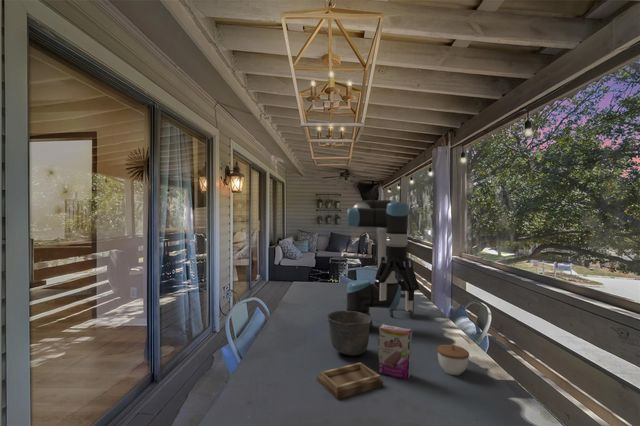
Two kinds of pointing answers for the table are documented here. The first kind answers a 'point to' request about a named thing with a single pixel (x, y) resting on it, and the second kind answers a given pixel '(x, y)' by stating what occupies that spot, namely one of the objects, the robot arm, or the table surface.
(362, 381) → the wooden tray
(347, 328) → the dark grey pot
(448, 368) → the lidded jar
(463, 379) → the table surface
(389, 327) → the candy bar box
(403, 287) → the chair
